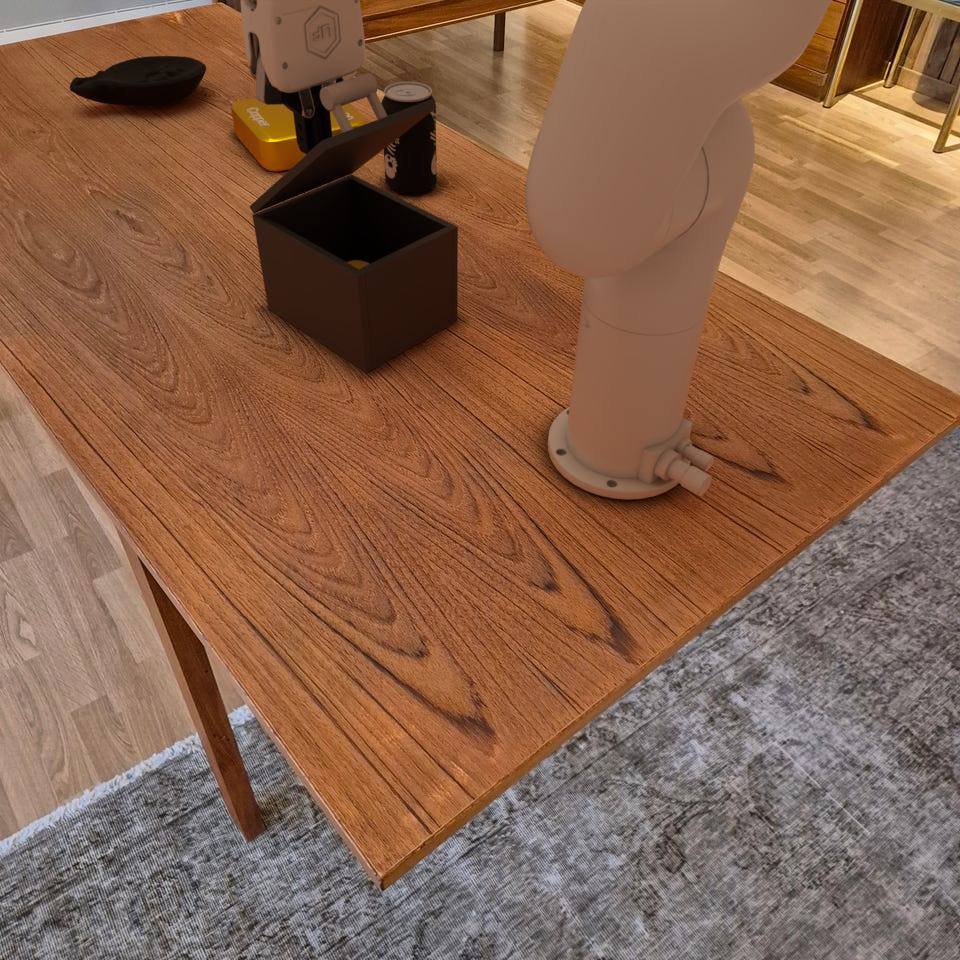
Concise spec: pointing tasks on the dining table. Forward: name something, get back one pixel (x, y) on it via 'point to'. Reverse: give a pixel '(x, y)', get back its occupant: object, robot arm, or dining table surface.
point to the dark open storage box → (359, 292)
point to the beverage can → (411, 142)
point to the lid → (344, 141)
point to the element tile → (276, 131)
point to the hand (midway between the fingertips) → (316, 152)
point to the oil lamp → (143, 81)
